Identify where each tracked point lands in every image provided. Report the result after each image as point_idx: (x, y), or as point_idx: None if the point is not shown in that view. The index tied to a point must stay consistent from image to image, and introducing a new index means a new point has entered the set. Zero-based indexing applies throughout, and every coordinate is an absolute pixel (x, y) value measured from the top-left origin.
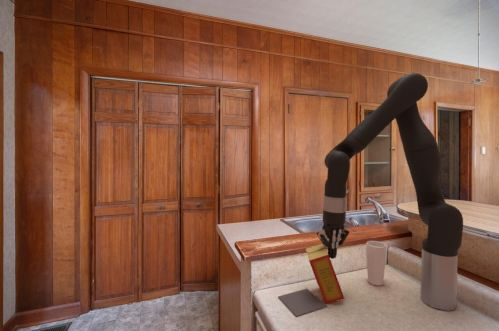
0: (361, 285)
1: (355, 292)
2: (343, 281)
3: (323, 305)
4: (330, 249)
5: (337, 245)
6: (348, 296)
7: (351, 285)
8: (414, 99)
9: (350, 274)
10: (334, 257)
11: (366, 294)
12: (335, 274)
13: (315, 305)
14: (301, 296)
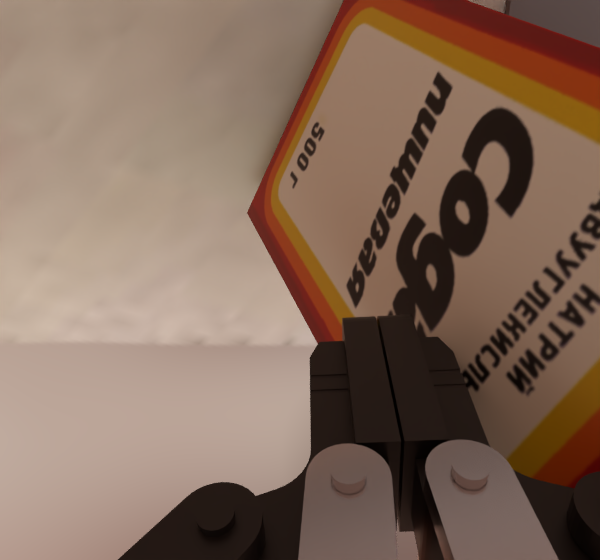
0: (15, 162)
1: (131, 93)
2: (134, 256)
3: (538, 17)
4: (488, 444)
5: (332, 495)
6: (230, 65)
7: (103, 190)
8: None
9: (19, 315)
10: (373, 321)
11: (49, 30)
12: (546, 31)
13: (594, 44)
14: None
